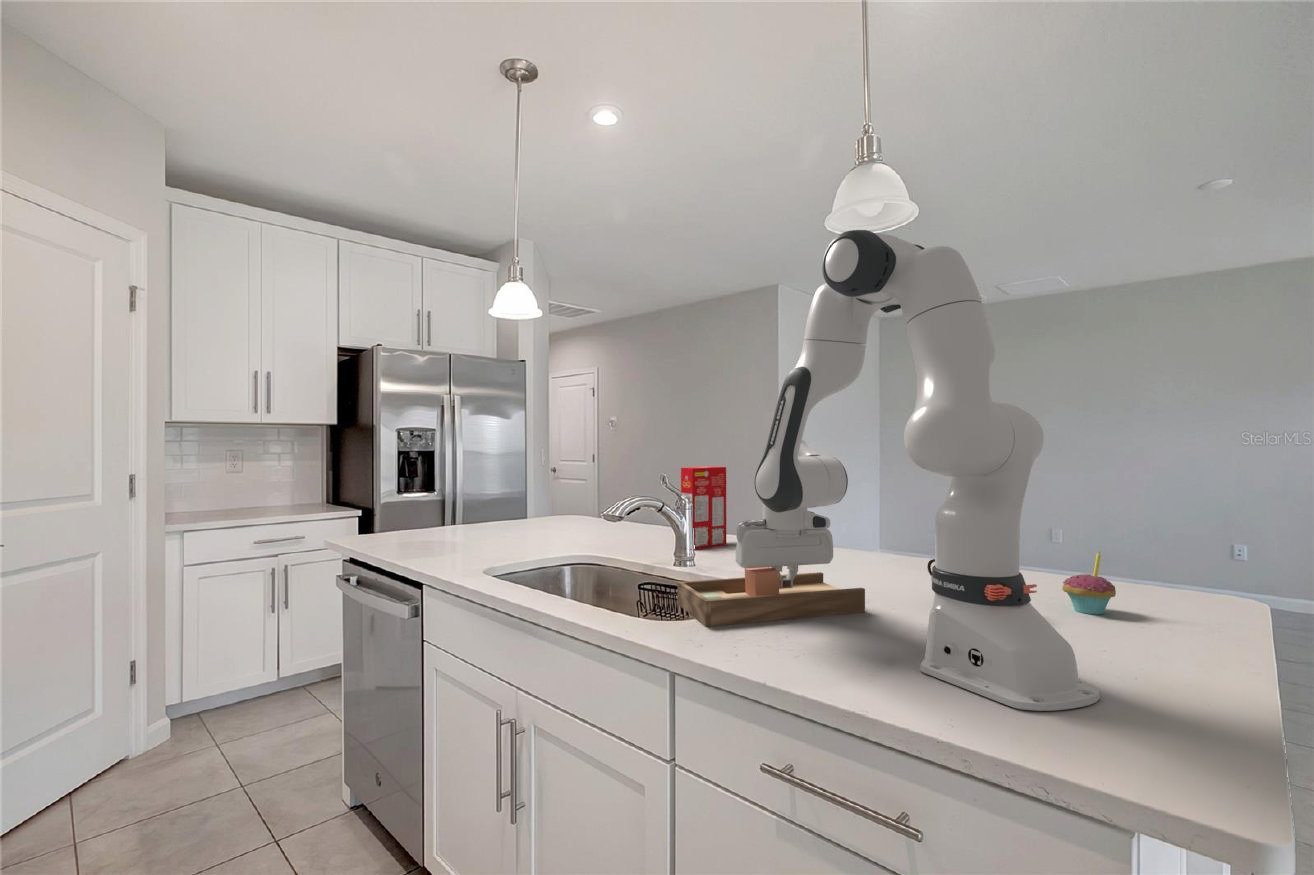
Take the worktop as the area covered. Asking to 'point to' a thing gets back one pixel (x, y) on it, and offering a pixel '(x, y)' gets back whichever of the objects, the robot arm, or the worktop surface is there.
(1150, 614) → the worktop surface
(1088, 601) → the cupcake
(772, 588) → the block
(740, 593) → the trap lane
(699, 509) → the food packaging
